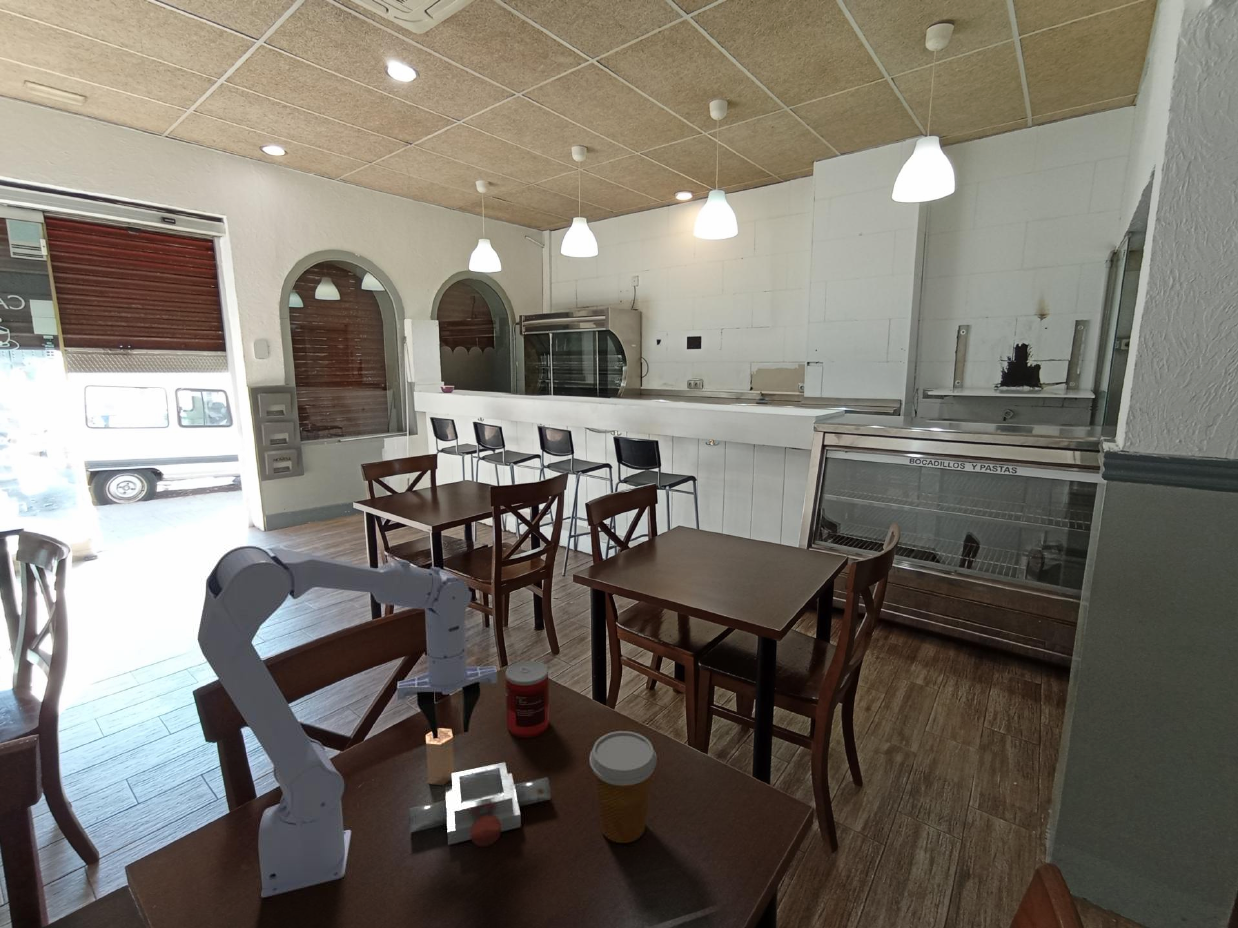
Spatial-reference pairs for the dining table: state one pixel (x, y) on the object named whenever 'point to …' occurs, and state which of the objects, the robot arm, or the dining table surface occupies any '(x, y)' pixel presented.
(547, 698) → the canned food
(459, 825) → the valve body
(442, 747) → the wooden hexagonal prism
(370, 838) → the dining table surface
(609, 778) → the disposable coffee cup
